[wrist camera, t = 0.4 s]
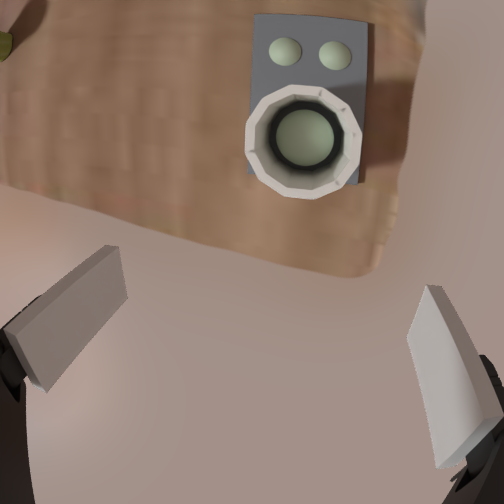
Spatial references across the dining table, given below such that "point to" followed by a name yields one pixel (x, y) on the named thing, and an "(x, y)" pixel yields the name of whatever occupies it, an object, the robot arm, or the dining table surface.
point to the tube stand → (307, 98)
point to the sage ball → (305, 137)
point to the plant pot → (5, 45)
